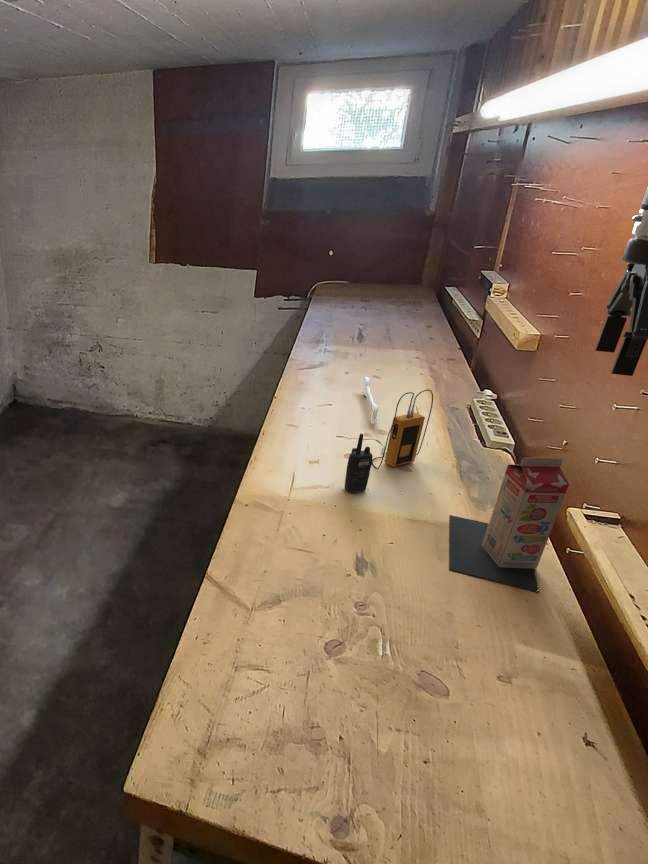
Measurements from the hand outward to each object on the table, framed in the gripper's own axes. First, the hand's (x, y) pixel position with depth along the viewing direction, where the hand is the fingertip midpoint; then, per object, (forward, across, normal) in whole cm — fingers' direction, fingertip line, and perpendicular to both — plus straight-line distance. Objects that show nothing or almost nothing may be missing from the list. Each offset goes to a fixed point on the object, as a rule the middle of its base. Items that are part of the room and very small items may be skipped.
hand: (612, 362), depth 100 cm
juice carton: (+37, +14, -8) cm, 40 cm away
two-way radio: (+37, 0, -38) cm, 53 cm away
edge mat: (+37, +13, -11) cm, 40 cm away
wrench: (+32, -56, -40) cm, 76 cm away
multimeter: (+37, -20, -32) cm, 53 cm away
